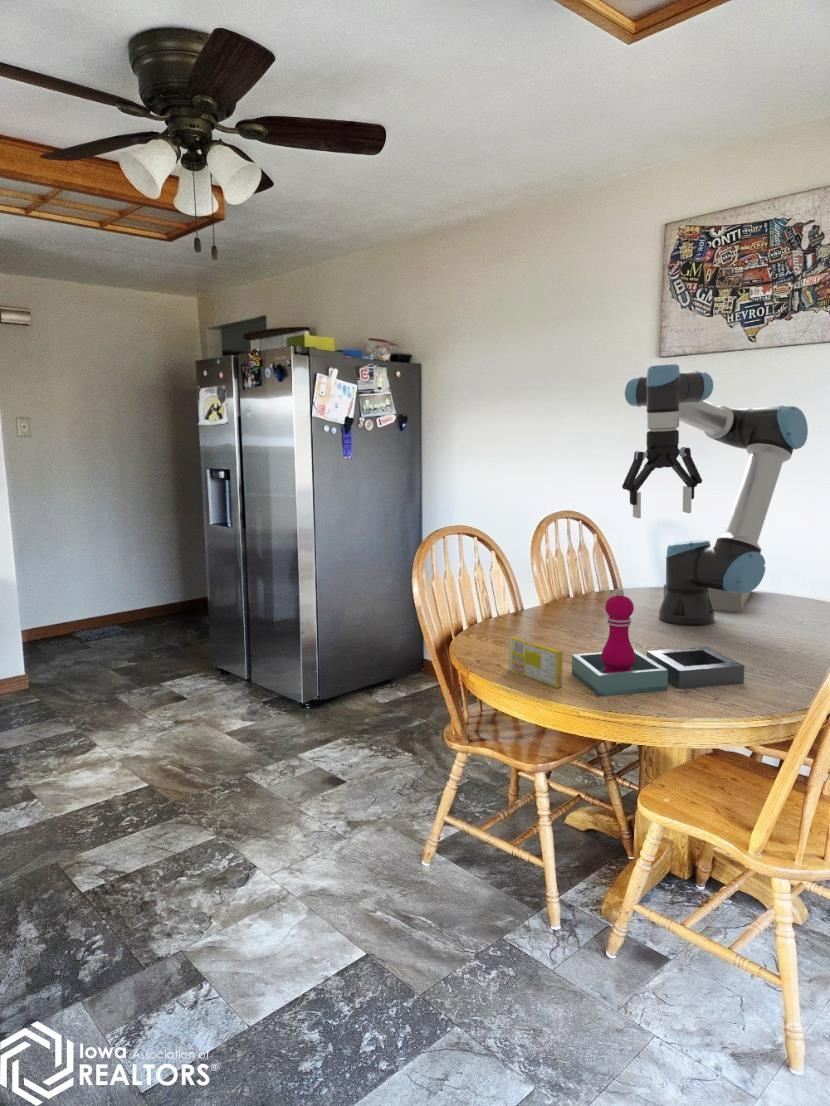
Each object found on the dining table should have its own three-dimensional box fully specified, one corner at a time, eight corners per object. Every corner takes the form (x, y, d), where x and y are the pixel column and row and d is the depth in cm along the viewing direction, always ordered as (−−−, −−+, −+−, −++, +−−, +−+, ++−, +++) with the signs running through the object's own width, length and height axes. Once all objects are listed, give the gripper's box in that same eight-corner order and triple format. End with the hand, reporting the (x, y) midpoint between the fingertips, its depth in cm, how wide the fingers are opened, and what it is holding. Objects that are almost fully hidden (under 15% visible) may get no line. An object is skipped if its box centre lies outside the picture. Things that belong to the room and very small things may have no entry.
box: (742, 614, 216) (752, 592, 243) (743, 589, 214) (753, 570, 242) (662, 608, 227) (680, 588, 254) (662, 584, 226) (680, 567, 253)
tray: (634, 668, 167) (635, 649, 166) (667, 690, 152) (667, 669, 151) (571, 673, 165) (571, 654, 164) (598, 696, 150) (598, 675, 149)
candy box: (563, 687, 156) (563, 650, 155) (556, 689, 155) (556, 652, 154) (514, 668, 170) (514, 634, 169) (507, 670, 169) (507, 636, 168)
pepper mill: (639, 682, 155) (641, 592, 151) (605, 682, 155) (607, 592, 151) (629, 671, 162) (631, 585, 159) (597, 671, 162) (599, 585, 159)
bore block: (705, 662, 169) (706, 646, 169) (743, 683, 155) (744, 665, 154) (646, 667, 167) (646, 650, 167) (679, 688, 153) (679, 670, 152)
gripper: (700, 425, 180) (699, 508, 185) (608, 432, 177) (608, 517, 181) (717, 426, 173) (716, 512, 178) (621, 434, 169) (622, 521, 174)
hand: (662, 515), depth 179 cm, fingers open, 13 cm apart
